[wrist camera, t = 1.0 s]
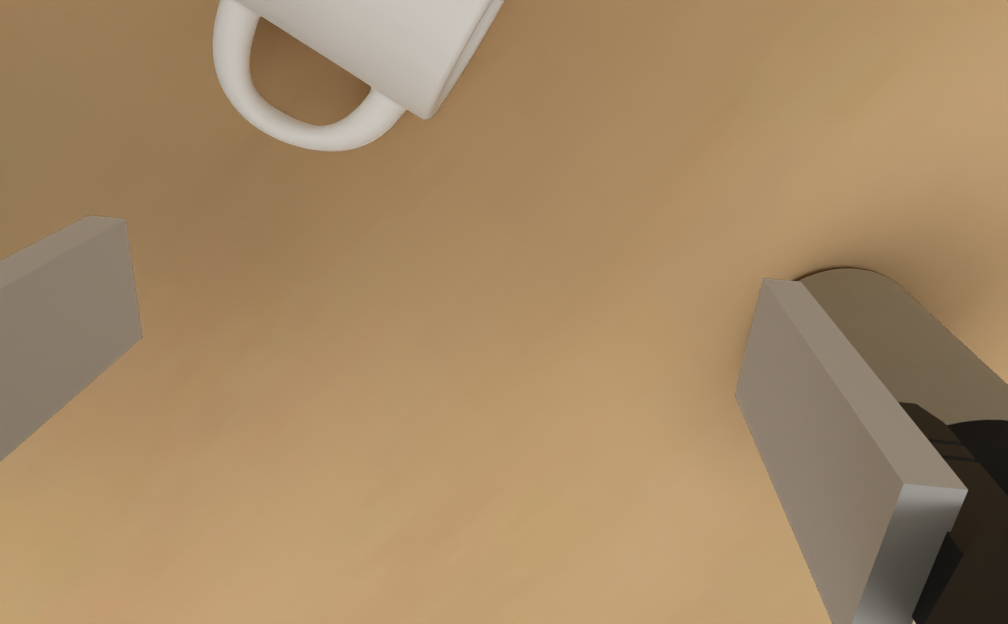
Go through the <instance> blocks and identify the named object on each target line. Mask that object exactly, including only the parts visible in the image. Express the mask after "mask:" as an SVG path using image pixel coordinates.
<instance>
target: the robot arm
mask: <svg viewBox="0 0 1008 624" xmlns="http://www.w3.org/2000/svg"><path fill="white" fill-rule="evenodd" d="M141 338H142V330H141V323H140V316H139V309H138V303H137V296H136V289H135V282H134V275H133V268H132V261H131V255H130V248H129V241H128V234H127V227H126V220H125V219H124V218H113V217H103V216H92V215H88V216H86V217H85V218H83V219H81V220H79V221H77V222H75V223H73V224H71V225H69V226H67V227H65V228H63V229H61V230H59V231H57V232H55V233H53V234H51V235H49V236H47V237H45V238H44V239H42V240H40V241H38V242H36V243H34V244H32V245H30V246H28V247H26V248H24V249H22V250H20V251H18V252H16V253H14V254H12V255H10V256H8V257H6V258H4V259H3V260H1V261H0V462H1V461H2V460H3V459H4V458H5V457H6V456H8V455H9V454H10V453H11V452H12V451H13V450H14V449H16V448H17V447H18V446H19V445H20V444H21V443H22V442H24V441H25V440H26V439H27V438H28V437H29V436H30V435H32V434H33V433H34V432H35V431H36V430H37V429H38V428H40V427H41V426H42V425H43V424H44V423H45V422H46V421H48V420H49V419H50V418H51V417H52V416H53V415H54V414H56V413H57V412H58V411H59V410H60V409H61V408H62V407H64V406H65V405H66V404H67V403H68V402H69V401H70V400H72V399H73V398H74V397H75V396H76V395H77V394H78V393H80V392H81V391H82V390H83V389H84V388H85V387H86V386H88V385H89V384H90V383H91V382H92V381H93V380H94V379H96V378H97V377H98V376H99V375H100V374H101V373H102V372H104V371H105V370H106V369H107V368H108V367H109V366H110V365H112V364H113V363H114V362H115V361H116V360H117V359H118V358H120V357H121V356H122V355H123V354H124V353H125V352H126V351H128V350H129V349H130V348H131V347H132V346H133V345H134V344H136V343H137V342H138V341H139V340H140V339H141ZM735 397H736V399H737V402H738V404H739V406H740V409H741V411H742V413H743V416H744V418H745V420H746V423H747V425H748V427H749V430H750V432H751V434H752V437H753V439H754V441H755V444H756V446H757V448H758V451H759V453H760V455H761V458H762V460H763V462H764V465H765V467H766V469H767V472H768V474H769V476H770V479H771V481H772V483H773V486H774V488H775V490H776V493H777V495H778V498H779V500H780V502H781V505H782V507H783V509H784V512H785V514H786V516H787V519H788V521H789V523H790V526H791V528H792V530H793V533H794V535H795V537H796V540H797V542H798V544H799V547H800V549H801V551H802V554H803V556H804V558H805V561H806V563H807V565H808V568H809V570H810V572H811V575H812V577H813V579H814V582H815V584H816V586H817V589H818V591H819V593H820V596H821V598H822V600H823V603H824V605H825V607H826V610H827V612H828V614H829V617H830V619H831V622H832V624H912V623H913V620H914V621H915V623H916V624H1008V495H1007V494H1006V493H1005V492H1004V491H1003V490H1002V489H1001V487H1000V486H999V485H998V484H997V483H996V482H995V481H994V479H993V478H992V477H991V476H990V475H989V474H988V473H987V471H986V470H985V469H984V468H983V467H982V466H981V464H980V463H976V462H975V458H974V456H973V455H972V454H971V453H970V452H969V451H968V450H967V448H966V447H965V446H961V441H960V440H959V439H958V438H957V437H956V436H955V435H954V433H953V432H952V431H951V430H950V429H949V428H948V427H947V425H946V424H945V423H944V422H943V421H941V420H940V419H938V418H937V417H935V416H934V415H932V414H931V413H929V412H928V411H926V410H925V409H923V408H922V407H920V406H919V405H917V404H915V403H905V402H897V401H896V399H895V398H894V397H893V396H892V394H891V393H890V392H889V391H888V389H887V388H886V387H885V386H884V384H883V383H882V382H881V381H880V379H879V378H878V377H877V376H876V374H875V373H874V372H873V371H872V369H871V368H870V367H869V366H868V364H867V363H866V362H865V361H864V359H863V358H862V357H861V356H860V354H859V353H858V352H857V351H856V349H855V348H854V347H853V346H852V344H851V343H850V342H849V341H848V340H847V338H846V337H845V336H844V335H843V333H842V332H841V331H840V330H839V328H838V327H837V326H836V325H835V323H834V322H833V321H832V320H831V318H830V317H829V316H828V315H827V313H826V312H825V311H824V310H823V308H822V307H821V306H820V305H819V303H818V302H817V301H816V300H815V298H814V297H813V296H812V295H811V293H810V292H809V291H808V290H807V288H806V287H805V286H804V285H803V283H802V282H799V281H788V280H778V279H767V278H763V280H762V284H761V288H760V292H759V297H758V301H757V305H756V309H755V313H754V317H753V322H752V326H751V330H750V334H749V338H748V342H747V346H746V351H745V355H744V359H743V363H742V367H741V371H740V376H739V380H738V384H737V388H736V392H735Z"/></svg>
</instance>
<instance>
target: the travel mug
mask: <svg viewBox="0 0 1008 624" xmlns="http://www.w3.org/2000/svg"><path fill="white" fill-rule="evenodd" d="M799 282H802V283H803V285H804V286H805V287H806V288H807V290H808V291H809V292H810V293H811V295H812V296H813V297H814V298H815V300H816V301H817V302H818V303H819V305H820V306H821V307H822V308H823V310H824V311H825V312H826V313H827V315H828V316H829V317H830V318H831V320H832V321H833V322H834V323H835V325H836V326H837V327H838V328H839V330H840V331H841V332H842V333H843V335H844V336H845V337H846V338H847V340H848V341H849V342H850V343H851V344H852V346H853V347H854V348H855V349H856V351H857V352H858V353H859V354H860V356H861V357H862V358H863V359H864V361H865V362H866V363H867V364H868V366H869V367H870V368H871V369H872V371H873V372H874V373H875V374H876V376H877V377H878V378H879V379H880V381H881V382H882V383H883V384H884V386H885V387H886V388H887V389H888V391H889V392H890V393H891V394H892V396H893V397H894V398H895V399H896V401H897V402H905V403H915V404H917V405H919V406H920V407H922V408H923V409H925V410H926V411H928V412H929V413H931V414H932V415H934V416H935V417H937V418H938V419H940V420H941V421H943V422H944V423H945V424H946V425H947V427H948V428H949V429H950V430H951V431H952V432H953V433H954V435H955V436H956V437H957V438H958V439H959V440H960V441H961V446H965V447H966V448H967V450H968V451H969V452H970V453H971V454H972V455H973V456H974V458H975V462H976V463H980V464H981V466H982V467H983V468H984V469H985V470H986V471H987V473H988V474H989V475H990V476H991V477H992V478H993V479H994V481H995V482H996V483H997V484H998V485H999V486H1000V487H1001V489H1002V490H1003V491H1004V492H1005V493H1006V494H1007V495H1008V385H1007V384H1006V383H1005V382H1004V381H1003V380H1002V379H1001V378H1000V377H999V376H998V375H997V374H996V373H994V372H993V371H992V370H991V369H990V368H989V367H988V366H987V365H986V364H985V363H984V362H983V361H981V360H980V359H979V358H978V357H977V356H976V355H975V354H974V353H973V352H972V351H971V350H970V349H968V348H967V347H966V346H965V345H964V344H963V343H962V342H961V341H960V340H959V339H958V338H956V337H955V336H954V335H953V334H952V333H951V332H950V331H949V330H948V329H947V328H946V327H945V326H943V325H942V324H941V323H940V322H939V321H938V320H937V319H936V318H935V317H934V316H933V315H932V314H930V313H929V312H928V311H927V310H926V309H925V308H924V307H923V306H922V305H921V304H920V303H918V302H917V301H916V300H915V299H914V298H913V297H912V296H911V295H910V294H909V293H908V292H907V291H905V290H904V289H903V288H902V287H901V286H900V285H899V284H897V283H896V282H894V281H893V280H891V279H889V278H887V277H885V276H883V275H881V274H878V273H875V272H872V271H868V270H862V269H852V268H843V269H833V270H828V271H823V272H819V273H816V274H813V275H810V276H808V277H805V278H803V279H801V280H799ZM912 624H916V623H915V621H914V620H913V623H912Z"/></svg>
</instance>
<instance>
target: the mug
mask: <svg viewBox="0 0 1008 624" xmlns="http://www.w3.org/2000/svg"><path fill="white" fill-rule="evenodd" d="M504 1H505V0H220V2H219V5H218V9H217V13H216V18H215V23H214V30H213V43H212V45H213V60H214V65H215V70H216V74H217V77H218V80H219V82H220V85H221V87H222V89H223V91H224V93H225V94H226V96H227V98H228V99H229V101H230V102H231V103H232V105H233V106H234V107H235V108H236V110H237V111H238V112H239V113H240V114H241V115H242V116H243V117H244V118H245V119H246V120H247V121H249V122H250V123H251V124H252V125H254V126H255V127H256V128H258V129H259V130H261V131H263V132H264V133H266V134H268V135H270V136H272V137H274V138H276V139H278V140H280V141H283V142H285V143H288V144H291V145H294V146H298V147H302V148H306V149H311V150H318V151H345V150H351V149H355V148H359V147H362V146H364V145H367V144H369V143H371V142H373V141H375V140H376V139H378V138H379V137H381V136H382V135H383V134H385V133H386V132H387V131H388V130H389V129H390V128H391V127H392V126H393V125H394V124H395V123H396V122H397V121H398V119H399V118H400V117H401V116H402V114H403V113H404V112H405V111H406V110H409V111H410V112H412V113H413V114H415V115H416V116H418V117H420V118H421V119H424V120H426V119H429V118H431V117H432V116H433V115H434V114H435V113H436V111H437V110H438V109H439V107H440V106H441V104H442V103H443V102H444V100H445V99H446V97H447V96H448V94H449V93H450V91H451V90H452V88H453V87H454V85H455V84H456V82H457V80H458V79H459V77H460V76H461V74H462V72H463V71H464V69H465V68H466V66H467V64H468V63H469V61H470V59H471V58H472V56H473V54H474V53H475V51H476V49H477V48H478V46H479V44H480V43H481V41H482V39H483V38H484V36H485V34H486V33H487V31H488V29H489V27H490V26H491V24H492V22H493V20H494V19H495V17H496V15H497V13H498V12H499V10H500V8H501V6H502V4H503V3H504ZM261 16H262V17H263V18H265V19H266V20H268V21H269V22H271V23H272V24H274V25H276V26H277V27H279V28H280V29H282V30H283V31H285V32H287V33H288V34H290V35H291V36H293V37H294V38H296V39H298V40H299V41H301V42H302V43H304V44H305V45H307V46H308V47H310V48H312V49H313V50H315V51H316V52H318V53H319V54H321V55H323V56H324V57H326V58H327V59H329V60H330V61H332V62H333V63H335V64H337V65H338V66H340V67H341V68H343V69H344V70H346V71H348V72H349V73H351V74H352V75H354V76H355V77H357V78H359V79H360V80H362V81H363V82H365V83H366V84H368V85H369V86H370V87H371V91H370V93H369V94H368V95H367V97H366V98H365V99H364V101H363V102H362V103H361V104H360V105H359V106H358V107H357V108H356V109H355V110H354V111H353V112H352V113H350V114H349V115H348V116H346V117H345V118H343V119H342V120H340V121H338V122H336V123H333V124H330V125H323V126H319V125H312V124H308V123H305V122H302V121H299V120H297V119H295V118H292V117H290V116H288V115H286V114H285V113H283V112H281V111H279V110H278V109H276V108H275V107H273V106H272V105H270V104H269V103H268V102H267V101H265V100H264V99H263V98H262V97H261V96H260V94H259V93H258V92H257V90H256V89H255V87H254V85H253V82H252V79H251V75H250V53H251V47H252V42H253V38H254V34H255V30H256V27H257V24H258V21H259V18H260V17H261Z"/></svg>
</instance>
